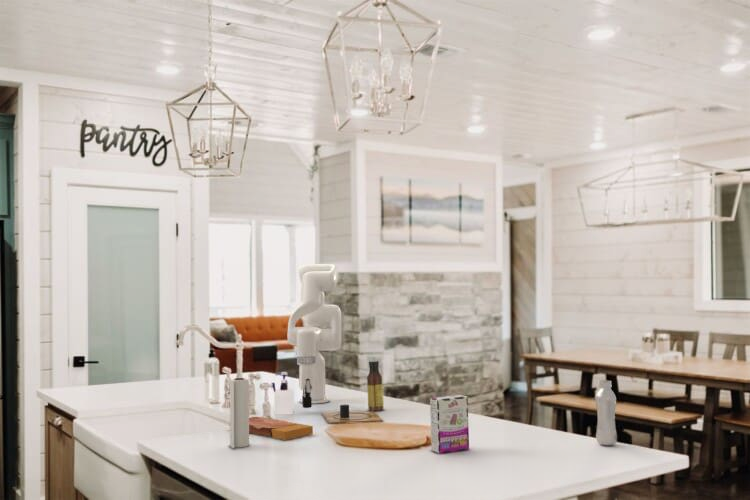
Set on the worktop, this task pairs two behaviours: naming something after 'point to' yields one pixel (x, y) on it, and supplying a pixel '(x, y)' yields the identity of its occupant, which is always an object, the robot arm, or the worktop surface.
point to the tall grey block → (239, 412)
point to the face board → (353, 417)
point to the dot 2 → (344, 411)
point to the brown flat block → (278, 428)
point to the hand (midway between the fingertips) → (306, 405)
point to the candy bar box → (449, 423)
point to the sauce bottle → (374, 387)
